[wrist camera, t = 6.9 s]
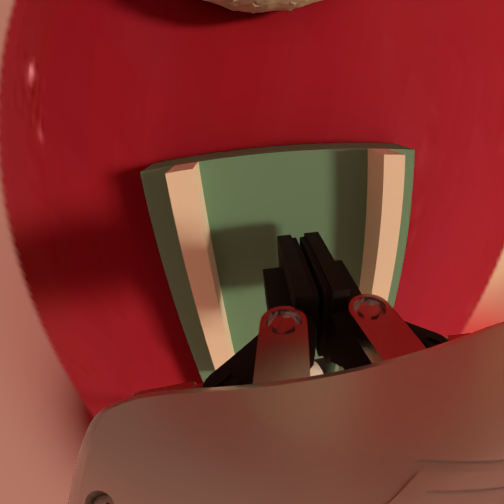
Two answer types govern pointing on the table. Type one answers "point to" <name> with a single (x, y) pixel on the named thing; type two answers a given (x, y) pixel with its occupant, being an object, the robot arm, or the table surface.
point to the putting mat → (273, 229)
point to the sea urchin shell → (261, 5)
